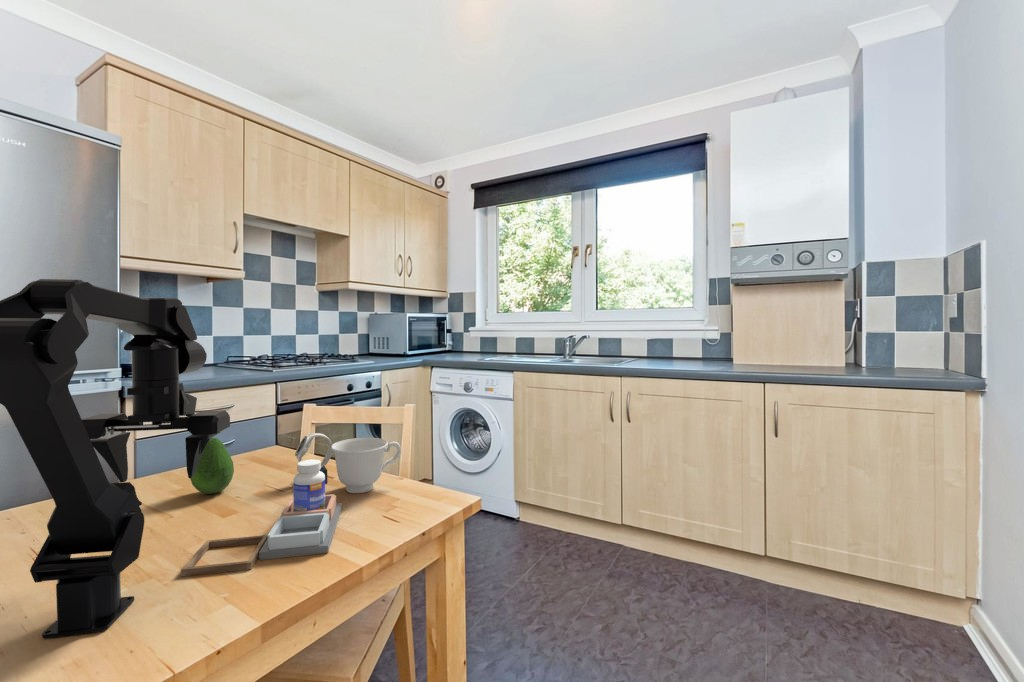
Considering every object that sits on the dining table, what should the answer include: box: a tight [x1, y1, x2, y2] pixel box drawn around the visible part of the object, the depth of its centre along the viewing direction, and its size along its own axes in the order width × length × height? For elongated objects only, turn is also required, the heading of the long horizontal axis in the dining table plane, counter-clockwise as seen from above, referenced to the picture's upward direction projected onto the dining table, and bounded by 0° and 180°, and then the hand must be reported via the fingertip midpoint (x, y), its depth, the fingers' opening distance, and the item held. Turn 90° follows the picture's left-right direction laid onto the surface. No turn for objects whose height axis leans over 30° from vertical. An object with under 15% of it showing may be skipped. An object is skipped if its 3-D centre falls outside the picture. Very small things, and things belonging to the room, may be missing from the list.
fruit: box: [189, 436, 235, 495], centre depth 100 cm, size 8×8×12 cm
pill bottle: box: [292, 459, 326, 512], centre depth 86 cm, size 5×5×10 cm
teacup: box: [331, 437, 402, 494], centre depth 103 cm, size 12×15×10 cm
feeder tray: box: [180, 534, 268, 577], centre depth 73 cm, size 9×9×1 cm
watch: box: [294, 432, 334, 485], centre depth 107 cm, size 6×8×11 cm
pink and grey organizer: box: [258, 493, 343, 561], centre depth 82 cm, size 18×10×3 cm, turn 14°
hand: (158, 479), depth 72 cm, fingers open, 9 cm apart
